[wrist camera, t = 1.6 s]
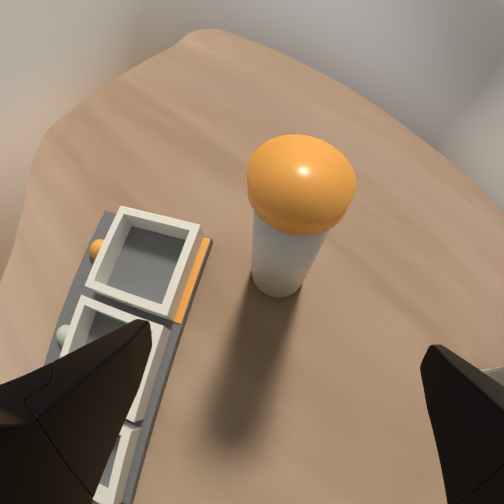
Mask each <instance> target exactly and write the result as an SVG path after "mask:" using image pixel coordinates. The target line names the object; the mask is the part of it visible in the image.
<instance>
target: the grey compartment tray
mask: <svg viewBox="0 0 504 504" xmlns="http://www.w3.org/2000/svg"><path fill="white" fill-rule="evenodd" d="M212 244H213V241H212V238H209V237H205V236H204V235H203V232H202V228H201V225H199V224H195V223H191V222H186V221H182V220H178V219H174V218H170V217H166V216H162V215H158V214H153V213H149V212H145V211H141V210H137V209H133V208H128V207H124V206H120V208H119V210H118V212H117V214H115V213H111V212H107V211H105V212H104V214H103V216H102V218H101V220H100V222H99V224H98V226H97V229H96V231H95V233H94V235H93V237H92V239H91V241H90V243H89V246H88V248H87V250H86V252H85V254H84V257H83V259H82V261H81V264H80V266H79V268H78V271H77V273H76V275H75V278H74V280H73V283H72V285H71V288H70V290H69V293H68V295H67V298H66V301H65V303H64V306H63V309H62V312H61V314H60V317H59V320H58V323H57V326H56V329H55V332H54V335H53V338H52V341H51V344H50V347H49V351H48V354H47V357H46V361H45V364H44V366H45V365H47V364H49V363H53V361H55V360H57V359H59V358H61V357H63V356H65V355H67V354H69V353H71V352H73V351H75V350H77V349H79V348H80V347H82V346H84V345H86V344H88V343H90V342H92V341H94V340H96V339H98V338H100V337H102V336H104V335H106V334H108V333H110V332H112V331H114V330H116V329H118V328H119V327H121V326H123V325H125V324H127V323H129V322H131V321H133V320H135V319H142V320H147V321H149V323H150V326H151V335H152V349H151V352H150V355H149V358H148V362H147V365H146V368H145V371H144V375H143V378H142V381H141V384H140V387H139V390H138V392H137V395H136V397H135V399H134V401H133V404H132V406H131V408H130V410H129V413H128V415H127V417H126V420H125V422H124V424H123V427H122V429H121V431H120V434H119V436H118V438H117V441H116V443H115V446H114V448H113V450H112V453H111V455H110V458H109V460H108V462H107V465H106V467H105V470H104V472H103V475H102V477H101V480H100V482H99V485H98V487H97V490H96V493H95V495H94V497H92V498H93V500H94V501H96V502H98V503H100V504H119V503H121V502H123V503H125V504H131V503H132V502H133V499H134V496H135V492H136V488H137V484H138V480H139V476H140V472H141V469H142V465H143V461H144V458H145V454H146V450H147V447H148V443H149V440H150V436H151V433H152V429H153V426H154V422H155V419H156V415H157V412H158V408H159V405H160V402H161V398H162V395H163V392H164V388H165V385H166V382H167V379H168V375H169V372H170V369H171V366H172V363H173V359H174V356H175V353H176V350H177V347H178V344H179V341H180V337H181V334H182V331H183V328H184V325H185V322H186V319H187V316H188V313H189V310H190V307H191V304H192V301H193V298H194V295H195V292H196V289H197V286H198V284H199V281H200V278H201V275H202V272H203V269H204V266H205V263H206V261H207V258H208V255H209V252H210V249H211V246H212Z"/></svg>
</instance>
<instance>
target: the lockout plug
mask: <svg viewBox="0 0 504 504" xmlns="http://www.w3.org/2000/svg"><path fill="white" fill-rule="evenodd" d="M355 189H356V179H355V174H354V171H353V169H352V166H351V165H350V163H349V161H348V160H347V159H346V157H345V156H344V155H343V154H342V153H341V152H340V151H339V150H338V149H336V148H335V147H334V146H332V145H330V144H329V143H327V142H325V141H323V140H320V139H318V138H315V137H311V136H306V135H284V136H279V137H276V138H273V139H271V140H269V141H267V142H265V143H264V144H262V145H261V146H260V147H259V148H258V149H257V150H256V151H255V152H254V153H253V155H252V156H251V159H250V161H249V164H248V170H247V191H248V198H249V201H250V204H251V206H252V208H253V209H254V210H253V243H252V278H253V281H254V283H255V285H256V287H257V288H258V289H259V290H260V291H261V292H263V293H264V294H266V295H268V296H271V297H276V298H282V297H287V296H289V295H291V294H293V293H295V292H296V291H297V290H298V289H299V288H300V286H301V285H302V283H303V281H304V279H305V277H306V275H307V273H308V271H309V269H310V267H311V265H312V263H313V262H314V260H315V258H316V256H317V254H318V252H319V250H320V248H321V246H322V244H323V242H324V240H325V238H326V236H327V234H328V232H329V230H330V229H331V228H332V227H334V226H335V225H336V224H337V223H338V222H339V221H340V220H341V219H342V218H343V216H344V214H345V212H346V211H347V209H348V207H349V205H350V203H351V201H352V199H353V196H354V194H355Z"/></svg>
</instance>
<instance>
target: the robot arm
mask: <svg viewBox="0 0 504 504" xmlns="http://www.w3.org/2000/svg"><path fill="white" fill-rule="evenodd" d="M151 349H152V335H151V326H150V323H149V321H147V320H142V319H135V320H133V321H131V322H129V323H127V324H125V325H123V326H121V327H119V328H118V329H116V330H114V331H112V332H110V333H108V334H106V335H104V336H102V337H100V338H98V339H96V340H94V341H92V342H90V343H88V344H86V345H84V346H82V347H80V348H79V349H77V350H75V351H73V352H71V353H69V354H67V355H65V356H63V357H61V358H59V359H57V360H55V361H53V363H49V364H47V365H45V366H43V367H41V368H39V369H37V370H35V371H33V372H31V373H28V374H26V375H24V376H21V377H19V378H16V379H14V380H11V381H9V382H6V383H4V384H1V385H0V504H91V503H92V501H93V498H92V497H94V495H95V493H96V490H97V487H98V485H99V482H100V480H101V477H102V475H103V472H104V470H105V467H106V465H107V462H108V460H109V458H110V455H111V453H112V450H113V448H114V446H115V443H116V441H117V438H118V436H119V434H120V431H121V429H122V427H123V424H124V422H125V420H126V417H127V415H128V413H129V410H130V408H131V406H132V404H133V401H134V399H135V397H136V395H137V392H138V390H139V387H140V384H141V381H142V378H143V375H144V371H145V368H146V365H147V362H148V358H149V355H150V352H151ZM420 372H421V377H422V382H423V387H424V393H425V399H426V405H427V409H428V413H429V417H430V421H431V425H432V429H433V433H434V437H435V441H436V446H437V450H438V455H439V459H440V464H441V469H442V474H443V480H444V485H445V491H446V497H447V504H504V386H503V385H501V384H500V383H498V382H497V381H495V380H494V379H492V378H491V377H489V376H488V375H487V374H485V373H484V372H482V371H481V370H479V369H478V368H476V367H475V366H473V365H472V364H470V363H469V362H467V361H465V360H464V359H462V358H461V357H459V356H458V355H456V354H455V353H453V352H452V351H450V350H449V349H447V348H446V347H444V346H443V345H430V346H429V348H428V350H427V352H426V354H425V356H424V358H423V360H422V363H421V366H420Z"/></svg>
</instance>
